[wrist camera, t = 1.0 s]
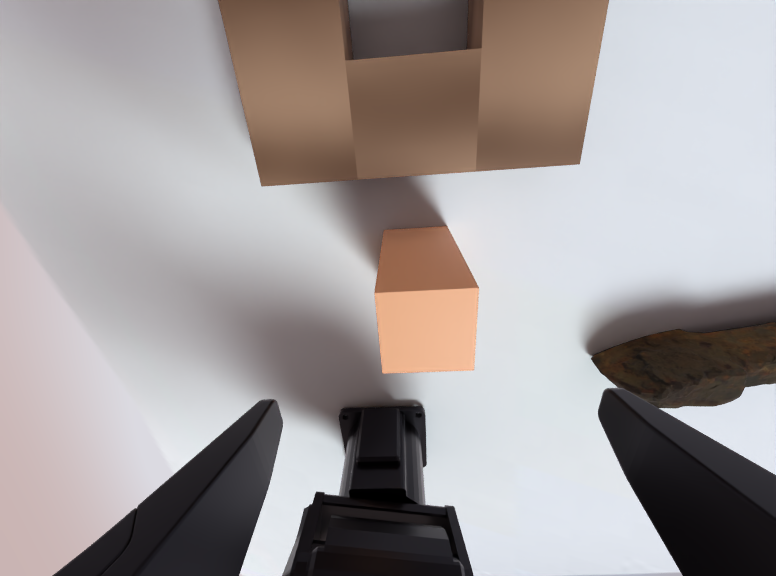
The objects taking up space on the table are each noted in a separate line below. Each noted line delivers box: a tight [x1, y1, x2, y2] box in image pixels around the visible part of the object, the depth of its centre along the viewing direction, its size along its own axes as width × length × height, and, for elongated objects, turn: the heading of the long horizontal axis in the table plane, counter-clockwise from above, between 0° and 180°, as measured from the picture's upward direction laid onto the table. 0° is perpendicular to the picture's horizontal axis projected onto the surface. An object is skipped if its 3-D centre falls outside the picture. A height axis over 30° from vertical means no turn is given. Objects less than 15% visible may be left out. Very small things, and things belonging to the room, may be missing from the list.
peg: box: [375, 226, 479, 374], centre depth 15 cm, size 4×4×8 cm
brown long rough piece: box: [591, 322, 776, 408], centre depth 19 cm, size 19×4×5 cm, turn 99°
